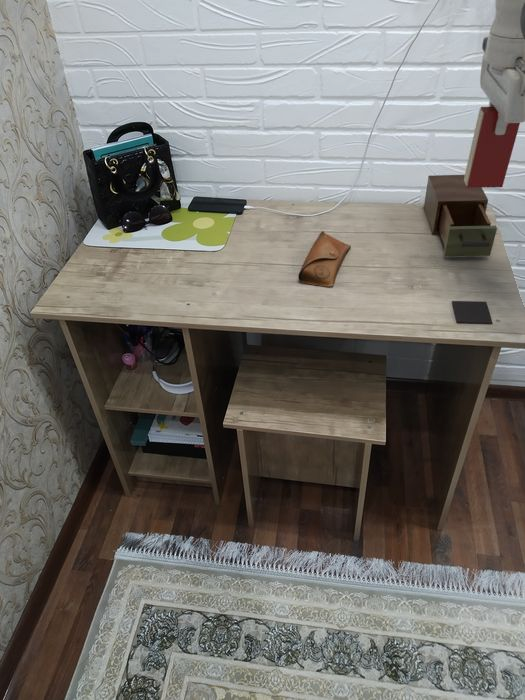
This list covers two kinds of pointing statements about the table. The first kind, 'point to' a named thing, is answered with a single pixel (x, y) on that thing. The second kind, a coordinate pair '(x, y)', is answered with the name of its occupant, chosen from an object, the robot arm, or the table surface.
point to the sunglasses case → (323, 261)
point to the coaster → (471, 312)
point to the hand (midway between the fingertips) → (495, 129)
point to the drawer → (466, 230)
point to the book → (489, 151)
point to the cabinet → (449, 196)
